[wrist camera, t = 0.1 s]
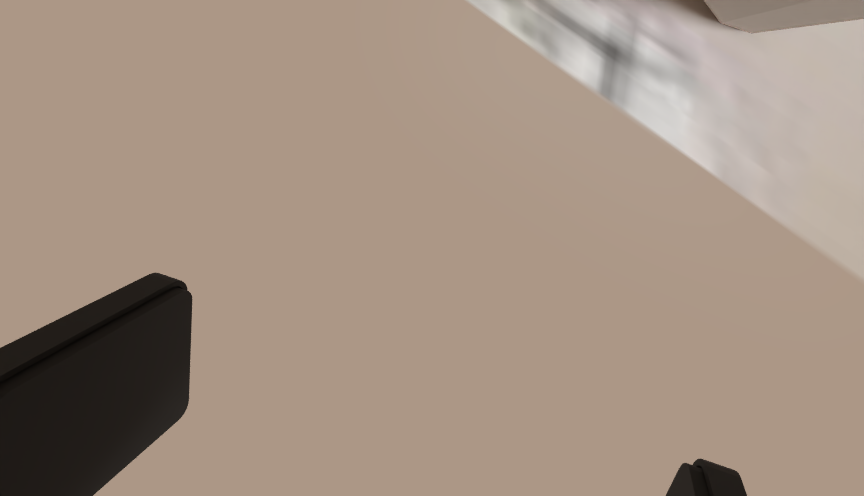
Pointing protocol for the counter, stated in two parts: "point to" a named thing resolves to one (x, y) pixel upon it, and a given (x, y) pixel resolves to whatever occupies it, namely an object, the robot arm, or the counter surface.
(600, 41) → the counter surface
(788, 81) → the counter surface
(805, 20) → the water bottle
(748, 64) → the counter surface
